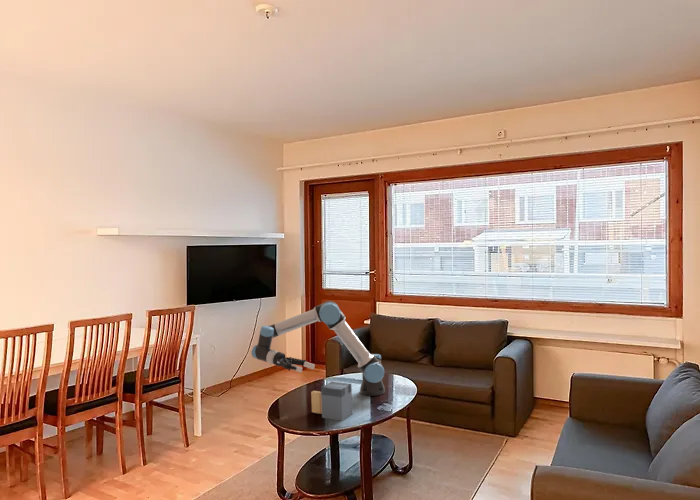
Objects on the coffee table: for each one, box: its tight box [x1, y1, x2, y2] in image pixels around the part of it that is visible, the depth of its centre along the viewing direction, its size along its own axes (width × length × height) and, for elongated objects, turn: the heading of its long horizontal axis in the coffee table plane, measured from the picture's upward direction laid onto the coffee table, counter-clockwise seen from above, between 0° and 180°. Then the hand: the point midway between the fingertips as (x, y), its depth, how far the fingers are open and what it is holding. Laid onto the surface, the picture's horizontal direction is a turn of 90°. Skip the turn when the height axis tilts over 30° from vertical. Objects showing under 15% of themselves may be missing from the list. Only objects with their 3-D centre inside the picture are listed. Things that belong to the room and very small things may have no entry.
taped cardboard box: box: [310, 390, 322, 415], centre depth 266 cm, size 15×3×11 cm, turn 62°
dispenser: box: [320, 381, 353, 421], centre depth 263 cm, size 13×11×16 cm
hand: (308, 368), depth 274 cm, fingers open, 13 cm apart
